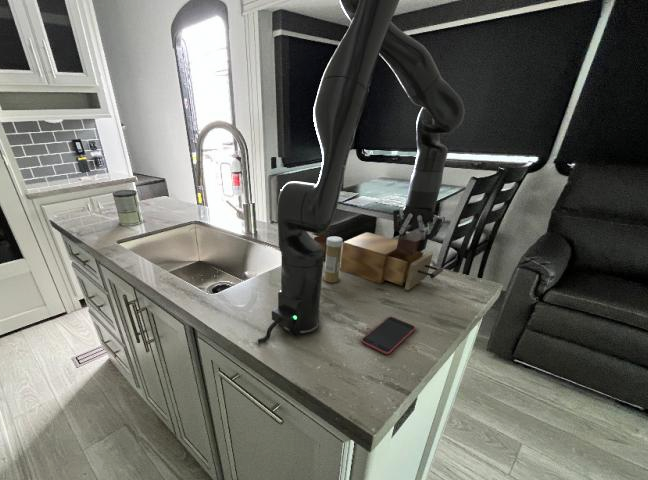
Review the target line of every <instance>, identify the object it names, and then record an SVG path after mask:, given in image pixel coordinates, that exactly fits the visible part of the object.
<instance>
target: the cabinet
mask: <svg viewBox="0 0 648 480" xmlns="http://www.w3.org/2000/svg"><path fill="white" fill-rule="evenodd" d="M397 243H398V239H394V238H390V237H387V236H383V235H379V234H375V233H372V232H369V231H365V232H364V233H361V234H359V235H357V236H354V237H352V238H349V239H347V240H344V241H343V243H342V249H341V259H340V268H339V271H343V272H346V273H349V274H351V275H355V276H357V277H359V278H362V279H366V280H368V281H371V282H373V283H377V284H379V285H381V284H382V283H384V282H386V280H385V279H382V277H383V272H384V267H385V261H386V256H388V255H390V254H391V253H393V252H395V251H396V248H397Z"/></svg>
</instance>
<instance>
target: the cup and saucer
mask: <svg viewBox="0 0 648 480" xmlns="http://www.w3.org/2000/svg"><path fill="white" fill-rule="evenodd" d="M328 237H331V236H329V235H317V236H315V237H314V238H313V239H314V240H315V241H316V242H318V243H319V244H320V245H321V246H322V247H323V249H324V259H323V260H326V251H327V238H328Z"/></svg>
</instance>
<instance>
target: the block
mask: <svg viewBox="0 0 648 480" xmlns="http://www.w3.org/2000/svg"><path fill="white" fill-rule="evenodd" d="M406 233H407V234H406V235H404V236H401V237H399V236H398V239H397V240H398V243H397V248H396V251H398V252H401V253H405V254H408V255H412V256H413V255H415V254H416V253H418V247H419V243H420V239H421V233H420V232H416V231H409V232H406Z"/></svg>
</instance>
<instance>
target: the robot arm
mask: <svg viewBox="0 0 648 480" xmlns="http://www.w3.org/2000/svg"><path fill="white" fill-rule="evenodd" d="M399 2H400V0H339V3H340V5H341V8H342V10H343V12H344V13H345V15H346V17H347V18H348V19H349V20H350V25H349V27H348V29H347V30H346V33H345V34H344V36H343V38H342V39H341V41H340V43H339V44H338V45H337V48H336V49H335V51H334V53H333V55H332V56H331V57H330V60H329V62H328V63H327V66H326V68H325V70H324V72H323V75H322V77H321V79H320V80H321V81H320V84H319V87H318V90H317V95H316V98H315V101H314V106H313V115H312V116H313V122H314V127H315V131H316V135H317V139H318V142H319V145H320V150H321V155H322V157H321V158H322V162H321V170H320V172H319V173H320V174H319V177H318V181H317V183H312V182H311V183H310V182H304V181H288V182H287V183H285V185H283V187H282V189H280V192H279V195H278V200H277V206H276V216H277V217H276V219H277V237H278V239H277V240H278V248H279V251H280V253H281V267H280V268H281V270H280V271H281V274H280V277H281V279H280V281H281V282H280V291H278V292H277V307H276V308H274V309H272V310H271V320H272V321H273V322H272V323H271V324H270V325H269V326H268V328H267V330H266V334H265V336H264V337H260V338H258V339H257V343H258V344H262V343H265V342H267V341H268V340H269V339H270V338H271V334H272V331H273V330H274V328H276V326H278V327H279V328H281V329H283V330H284V331H286V332H288V333H290V334H292V335H293V336H295V337H298V336H300V335H306V334H311V333H313V332H315V331H317V329H318V328H319V326H320V325H319V324H320V308H321V307H320V306H321V297H322V295H321V294H322V282H323V272H324V271H323V269H324V260H325V259H324V249H323V247H322V246H321V245H320V244H319V243H318V242H316V241H315V240H314V238H313V237H312V236H311V235H310V234H309V233H313V234H324V233H325V232H326V231H328V230H329V228H330V227H331V225H332V223H333V221H334V218H335V216H336V212H337V208H338V204H339V199H340V195H341V190H342V186H343V182H344V176H345V172H346V168H347V163H348V159H349V155H350V152H351V149H352V146H353V142H354V138H355V135H356V132H357V129H358V127H359V123H360V121H361V117H362V114H363V111H364V108H365V104H366V100H367V97H368V93H369V89H370V85H371V82H372V79H373V75H374V72H375V69H376V65H377V63H378V60H379V56H380V57H381V58H382V59H383V60H384V61H385V62H386V64H387V65H388V66H389V67H390V69H391V70H392V72H393V73H394V74H395V76H396V78H397V80H398V81H399V83H400V85H401V86H402V88H403V90H404V91H405V93H406V95H407V97H408V99H409V100H410V102H411V103H412V104H414V105H415V106H418V107H421V109H420V111H419V113H418V115H417V119H416V148H417V149H416V152H417V153H416V156H415V162H414V166H413V171H412V174H411V177H410V181H409V184H408V190H407V195H406V200H405V206H404V208H396V209H394V210H393V211H392V219H393V220H392V221H393V231H395V232H398V233H399V236H398V238H399V237H401V236H404V235H406V234H407V233H408V230H409V229H410V227H412V226H414V227H416V228H418V232H419V233H420V234H421V239H420V243H419V247H418V252H424V251H425V250H426V248H427V244H428V240H433V239H434V238H436V237H437V235H438V233H439V232H440V229H441V228H442V227H443V224H444V223H445V220H446V218H445V216H439V215H436V211H435V209H436V206H437V202H438V198H439V194H440V190H441V186H442V182H443V176H444V175H443V174H444V169H445V166H446V161H447V157H448V153H449V152H448V151H449V149H448V147H447V145H445V144H444V143H441V140H440V139H441V137H440V134H442V135H443V134H451V133H453V132H455V131H457V130H458V129H459V128H460V127H461V125H462V124H463V122H464V119H465V114H466V111H465V104H464V102H463V100H462V98H461V97H460V95H459V94H458V93H457V92H456V91H455V89H453V87H452V86H451V85H450V84H449V83H448V82H447V81H446V80H445V79H444V78H443V77H442V76H441V75H442V74H441V73H440V71H439V69H438V66H437V64H436V63H435V62H436V61H434V59H433V57H432V54H431V53H430V52H429V51H428V49H427V48H426V47H425V46H424V45H423V44H422V43H421V42H419V41H418V40H416V39H415V38H414V37H411V36H410V35H408V34H407V33H406V32H404V31H402V29H400V28H399V27H397V25H395V24H394V23H393V22H392V20H393V18H394V15H395V12H396V10H397V8H398V5H399ZM403 216H404V218H405V220H404V222H403V224H402V217H403ZM431 221H432V224H433V227H432V228H431V230H429V229H430V224H429V222H431ZM308 232H309V233H308Z"/></svg>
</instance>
